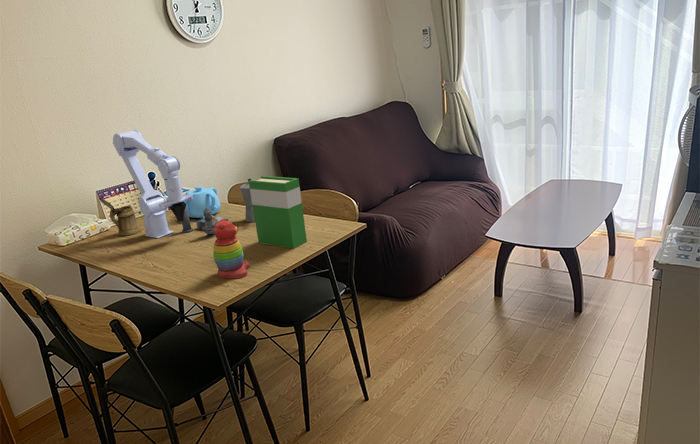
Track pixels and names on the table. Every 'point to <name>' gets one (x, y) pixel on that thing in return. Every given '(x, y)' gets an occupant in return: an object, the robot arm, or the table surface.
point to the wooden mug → (123, 219)
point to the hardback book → (278, 211)
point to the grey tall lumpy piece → (208, 224)
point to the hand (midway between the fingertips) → (180, 221)
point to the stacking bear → (228, 251)
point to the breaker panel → (215, 220)
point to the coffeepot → (248, 202)
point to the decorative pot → (202, 202)
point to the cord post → (186, 223)
